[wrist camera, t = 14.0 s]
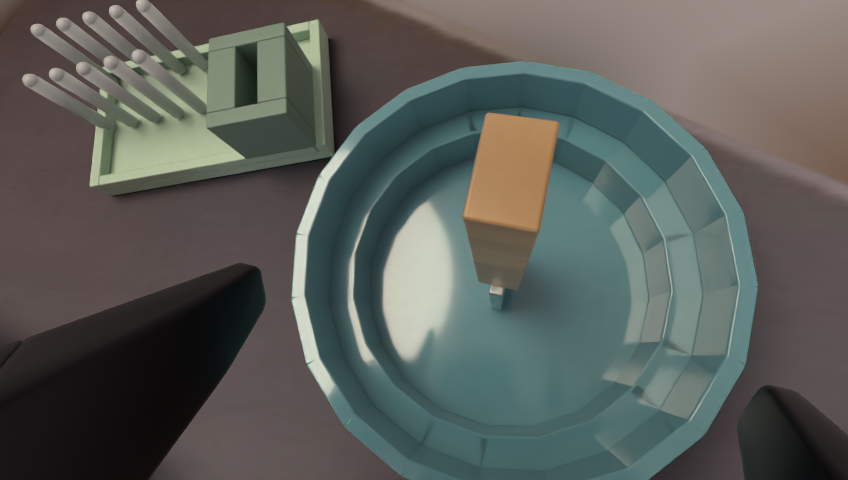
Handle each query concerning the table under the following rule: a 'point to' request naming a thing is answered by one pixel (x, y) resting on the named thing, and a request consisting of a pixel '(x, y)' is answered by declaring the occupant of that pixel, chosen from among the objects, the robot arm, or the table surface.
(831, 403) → the table surface
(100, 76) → the dish rack
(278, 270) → the table surface
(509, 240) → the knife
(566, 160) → the basin
